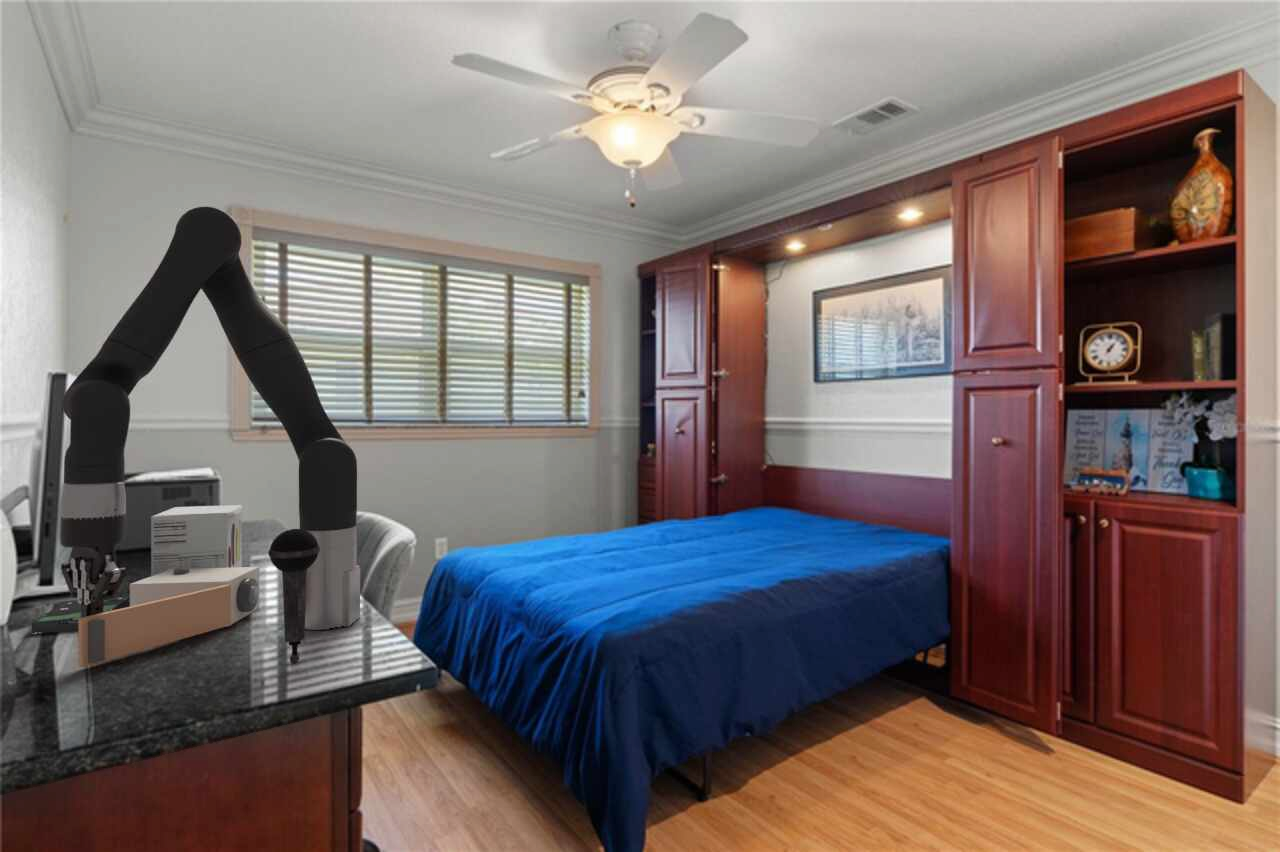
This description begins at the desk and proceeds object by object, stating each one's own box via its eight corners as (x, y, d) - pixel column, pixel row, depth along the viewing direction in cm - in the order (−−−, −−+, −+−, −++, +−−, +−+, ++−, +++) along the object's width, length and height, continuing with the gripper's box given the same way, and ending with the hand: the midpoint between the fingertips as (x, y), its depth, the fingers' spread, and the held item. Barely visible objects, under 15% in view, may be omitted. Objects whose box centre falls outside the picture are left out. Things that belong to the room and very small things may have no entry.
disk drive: (64, 615, 125) (30, 637, 111) (64, 601, 125) (30, 621, 111) (131, 609, 129) (106, 629, 115) (131, 595, 129) (106, 613, 115)
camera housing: (269, 607, 127) (269, 562, 127) (238, 626, 116) (238, 576, 116) (171, 610, 125) (171, 564, 125) (129, 630, 113) (129, 579, 113)
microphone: (284, 674, 93) (284, 534, 93) (258, 665, 97) (258, 530, 97) (329, 659, 99) (329, 527, 99) (303, 651, 102) (303, 524, 102)
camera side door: (227, 624, 115) (226, 584, 115) (234, 625, 114) (234, 585, 114) (78, 666, 95) (78, 618, 95) (86, 668, 94) (86, 619, 94)
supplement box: (229, 602, 132) (228, 512, 132) (149, 609, 127) (149, 516, 127) (244, 583, 148) (243, 503, 148) (173, 589, 143) (173, 506, 143)
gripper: (148, 512, 99) (145, 627, 99) (97, 507, 104) (95, 615, 104) (90, 518, 92) (87, 641, 92) (39, 512, 98) (37, 628, 97)
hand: (91, 627), depth 98 cm, fingers closed
